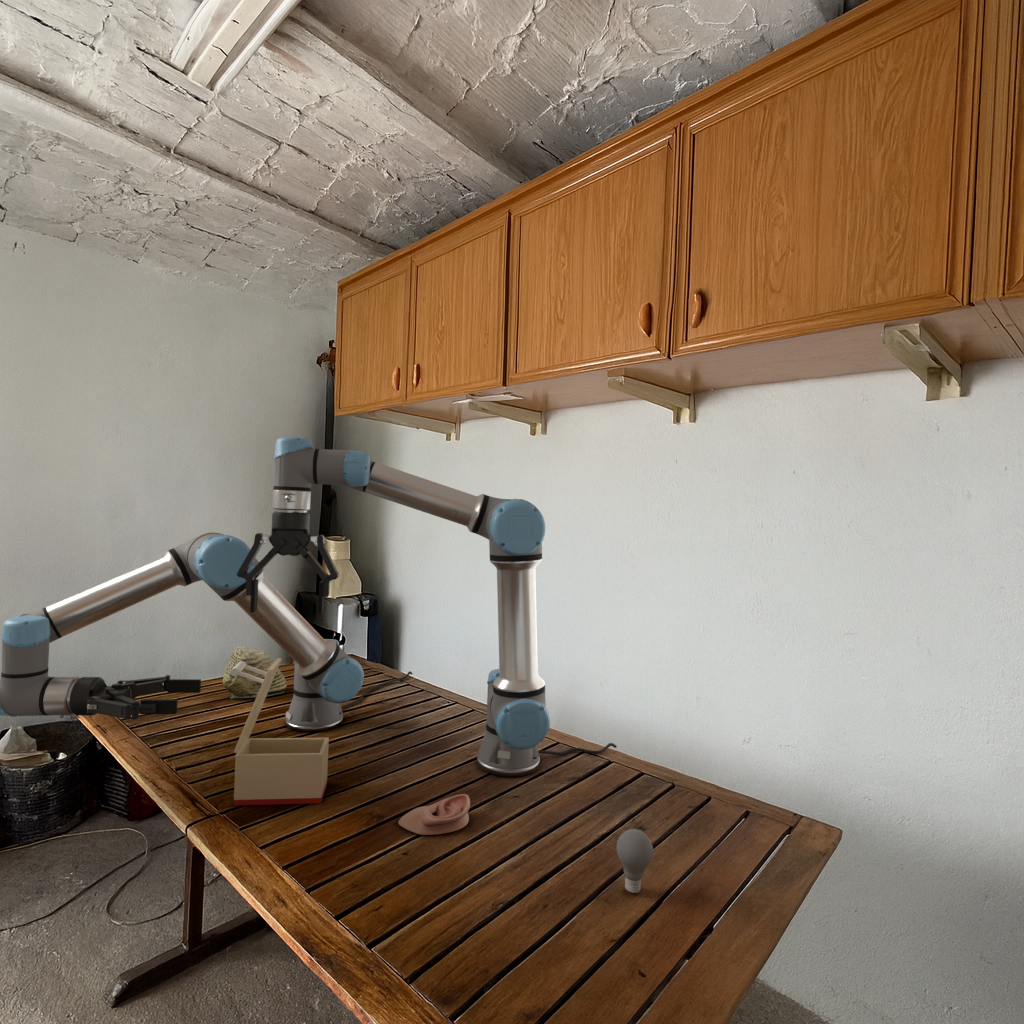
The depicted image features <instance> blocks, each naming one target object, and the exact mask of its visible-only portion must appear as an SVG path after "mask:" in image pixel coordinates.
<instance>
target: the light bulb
mask: <svg viewBox="0 0 1024 1024" xmlns="http://www.w3.org/2000/svg"><path fill="white" fill-rule="evenodd" d="M615 849H616V854H617V857H618V859H619V861H620V863H621V865H622V867H623V873H624V874H623V875H624V876H625V878H624V888H625V890H627V891H628V892H630V893H634V894H635V893H639V892H640V891H641V889H642V887H641V886H642V879H643V877H644V875H645V871H646V868H647V867H648V866H649V864H650V863H651V861H652V859H653V855H654V847H653V843H652V841H651V838H649V836H648V835H647V834H646V833H645V832H643V831H642V830H641V829H636V828H629V829H627V830H625V831H623V832H622V833H621V834H620V835H619V837H618V839H617V841H616V847H615Z"/></svg>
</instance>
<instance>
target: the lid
mask: <svg viewBox="0 0 1024 1024" xmlns="http://www.w3.org/2000/svg"><path fill="white" fill-rule="evenodd" d="M282 660H283V659H282V658H281V657H277V658H276V659H275V660H274V663H273V664H272V665H271V666H270V668H269V669H268V671H267V672H265V671H263V670H260V669H257V668H254V667H251V666H248V665H246V663H245V662H244V661H240V662H239V663H238V664H237V665H236V666H235V667H234V668H233V669H231V671H230V674H231V675H232V676H237V675H239V676H242V677H245V678H248V679H251V680H254V681H257V682H260V683H262V685H261V688H260V690H259V692H258V695H257V697H255V700H254V702H253V705H252V707H251V709H250V712H249V713H248V717H247V719H246V721H245V724H244V726H243V729H242V730H241V733H240V736H239V739H238V741H237V743H236V745H235V748H234V750H233V753H234V754H238V752H239V751H240V750H241V748H242V747H243V745H244V744H245V742H246V741H247V740H248V738H250V737H251V734H252V732H253V730H254V727H255V724H256V722H257V720H258V717H259V715H260V714H261V710H262V708H263V705H264V703H265V701H266V698H267V697H268V696H267V693H268V691H269V689H270V686H271V684H272V681H273V679H274V677H275V674H276V672H277V669H279V667H280V665H281V662H282ZM243 669H247V670H250V671H253V672H256V673H259V674H261V675H264V676H265V678H264V679H261V678H258V677H256V676H253V675H250V674H247V673H244V672H241V671H242V670H243Z"/></svg>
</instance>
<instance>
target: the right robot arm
mask: <svg viewBox="0 0 1024 1024" xmlns="http://www.w3.org/2000/svg"><path fill="white" fill-rule="evenodd" d="M274 445H275V447H274V455H273V456H274V457H273V487H272V489H273V490H272V504H271V505H272V509H273V510H275V511H273V512H272V514H271V530H270V534H267V533H266V534H264V533H262V532H258V533H255V535H254V540H253V544H252V546H251V548H250V551H249V553H248V555H247V557H246V558H245V560H244V562H243V564H242V565H241V567H240V569H239V571H238V572H237V576H238V577H241V578H244V579H245V580H246V595H247V596H251V604H250V612H255V611H257V603H258V579H254V578H255V577H256V575H257V574H258V573H259V572H260V571H261V570H262V569H263V568H264V569H265V568H266V566H267V565H268V564H269V563H270V562H271V561H272V560H273V559H274V558H275V557H276V556H278V555H280V556H281V557H282V556H284V557H285V556H291V557H297V556H299V555H301V557H302V558H303V559H304V560H305V561H306V562H307V563H308V565H309V566H310V567H311V568H312V570H314V572H315V573H316V574H317V576H318V577H319V578H320V579H321V580H320V581H319V583H318V601H317V614H323V612H324V610H325V598H328V597H329V596H330V592H331V591H330V590H331V589H330V588H331V587H330V586H331V581H334V580H337V579H338V578H340V573H339V571H338V569H337V567H336V565H335V563H334V561H333V559H332V556H331V554H330V552H329V550H328V548H327V546H326V538H325V535H324V534H319V535H313V536H311V534H310V526H311V525H310V522H311V515H310V513H309V512H308V511H310V510H311V497H312V485H326V486H327V485H328V486H329V485H330V486H344V487H347V488H350V489H353V490H356V491H359V492H362V493H365V494H369V495H371V496H375V497H377V498H380V499H383V500H387V501H390V502H393V503H396V504H397V505H402V506H404V507H408V508H410V509H413V510H417V511H420V512H422V513H426V514H429V515H432V516H434V517H438V518H441V519H443V520H447V521H450V522H453V523H455V524H458V525H462V526H465V527H467V528H466V529H468V531H469V532H470V533H472V534H475V535H478V536H481V537H483V538H485V539H486V540H488V548H489V562H490V564H492V565H493V566H494V567H495V568H496V588H497V589H496V590H497V591H496V592H497V627H498V632H497V633H498V635H497V636H498V668H495V669H492V670H490V671H489V673H488V677H487V682H486V684H487V695H486V696H487V697H486V718H485V719H486V720H485V732H484V735H483V737H482V741H481V743H480V746H479V747H478V748H479V749H478V752H477V754H476V764H477V766H478V767H479V769H481V770H482V771H484V772H485V773H488V774H491V775H495V776H498V777H499V776H500V777H511V778H512V777H513V778H514V777H523V776H527V775H529V774H533V773H534V772H536V771H537V770H538V769H539V768H540V763H541V762H540V761H541V759H540V758H541V757H540V754H543V755H544V754H545V755H552V756H553V755H554V756H563V755H567V754H568V753H571V752H583V753H587V754H593V755H594V754H595V755H598V754H602V753H604V752H606V751H607V750H608V749H609V748H610V747H613V749H616V748H618V747H617V744H615V743H613V742H609V743H608V744H606V745H605V746H604V747H603V748H601V749H599V750H592V749H586V748H582V747H570V748H568V749H566V750H563V751H552V750H543V749H541V750H540V749H538V746H539V745H540V743H542V742H543V741H544V740H545V738H546V737H547V735H548V733H549V731H550V726H551V718H550V713H549V711H548V708H547V707H546V706H547V705H546V703H547V702H546V681H545V680H544V678H543V677H541V676H540V674H539V656H538V653H539V652H538V616H537V615H538V613H537V609H538V608H537V571H536V568H537V567H538V565H540V563H541V562H542V561H543V542H544V539H545V535H546V522H545V517H544V516H543V514H542V512H541V511H540V509H538V507H537V506H536V505H535V504H533V503H532V502H530V501H528V500H526V499H523V498H499V497H494V496H491V495H487V494H485V493H481V494H479V495H474V494H471V493H468V492H465V491H463V490H460V489H456V488H454V487H450V486H447V485H445V484H441V483H438V482H436V481H433V480H430V479H426V478H423V477H421V476H418V475H415V474H411V473H408V472H406V471H404V470H400V469H397V468H394V467H392V466H388V465H385V464H382V463H379V462H376V461H373V460H371V457H370V454H369V453H368V451H363V450H362V451H361V450H355V449H327V448H326V449H323V448H322V449H321V448H315V447H314V445H313V441H312V439H310V438H306V437H297V436H296V437H295V436H294V437H293V436H281V437H279V438H277V439H276V440H275V444H274ZM267 541H268V542H269V543H270V544H271V546H272V548H271V549H270V550H269V551H268V552H267V553H266V555H264V557H262V559H261V560H260V561H259V563H258V564H257V565H256V566H255V567H254V568H253V569H252V571H251V572H250V573H249V572H247V571H248V569H249V567H250V566H251V564H252V562H253V560H254V559H255V558H256V557H257V555H258V554H259V552H260V550H261V548H262V546H263V545H265V544H266V543H267ZM311 542H312V543H313V544H314V546H315V547H317V549H318V551H319V553H320V555H321V558H322V560H323V562H324V564H325V567H326V568H327V570H328V572H327V571H326V570H325V568H324V567H323V566H322V565H321V563H320V562H319V561H318V560H317V559H316V558H315V557H314V555H313V554H312V552H311V551H310V550H309V548H308V546H309V545H310V544H311ZM328 573H329V574H328Z"/></svg>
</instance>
